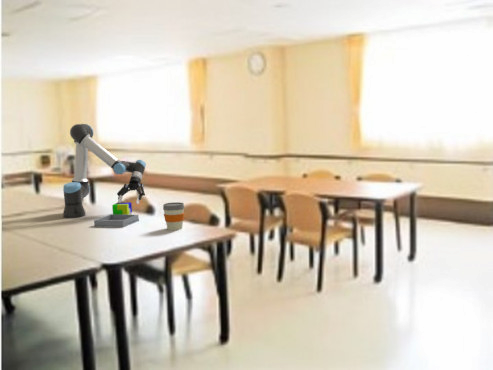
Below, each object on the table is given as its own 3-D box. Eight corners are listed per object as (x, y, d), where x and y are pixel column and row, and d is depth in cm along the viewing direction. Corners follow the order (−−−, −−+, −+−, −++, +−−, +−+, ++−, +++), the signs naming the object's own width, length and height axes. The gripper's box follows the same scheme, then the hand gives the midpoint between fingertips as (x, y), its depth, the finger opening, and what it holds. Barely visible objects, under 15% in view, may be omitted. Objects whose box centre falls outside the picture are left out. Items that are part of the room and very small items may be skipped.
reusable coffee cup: (181, 231, 312) (180, 205, 310) (161, 230, 314) (159, 205, 312) (188, 226, 324) (186, 202, 322) (168, 226, 326) (167, 202, 324)
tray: (94, 226, 335) (94, 220, 334) (111, 220, 354) (110, 214, 354) (123, 227, 329) (123, 220, 329) (138, 220, 349) (138, 214, 348)
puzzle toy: (132, 216, 365) (131, 202, 363) (127, 219, 355) (126, 204, 353) (118, 217, 366) (117, 202, 364) (113, 219, 356) (112, 205, 354)
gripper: (154, 181, 376) (146, 206, 363) (121, 182, 382) (113, 206, 370) (150, 175, 370) (142, 199, 358) (117, 176, 377) (109, 200, 364)
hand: (127, 203), depth 363 cm, fingers open, 13 cm apart
